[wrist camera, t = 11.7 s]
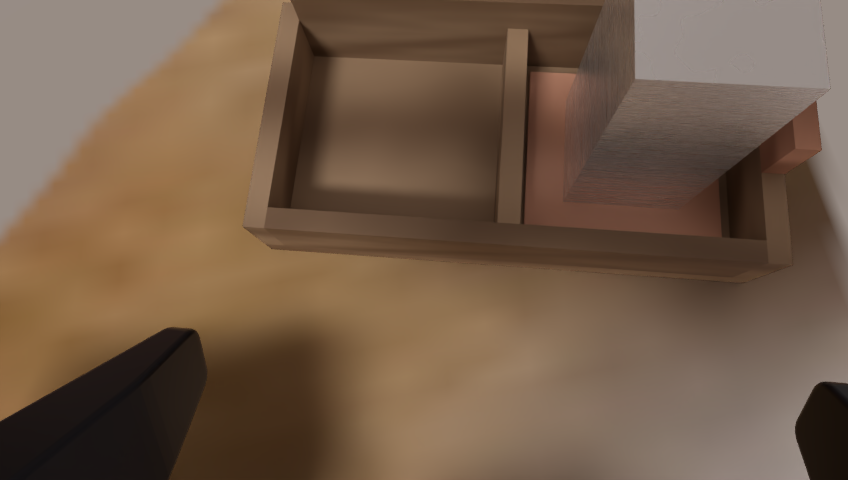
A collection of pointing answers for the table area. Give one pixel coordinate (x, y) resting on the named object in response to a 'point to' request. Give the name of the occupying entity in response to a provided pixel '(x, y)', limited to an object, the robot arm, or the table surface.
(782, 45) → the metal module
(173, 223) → the table surface
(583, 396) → the table surface
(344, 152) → the divided wooden tray
